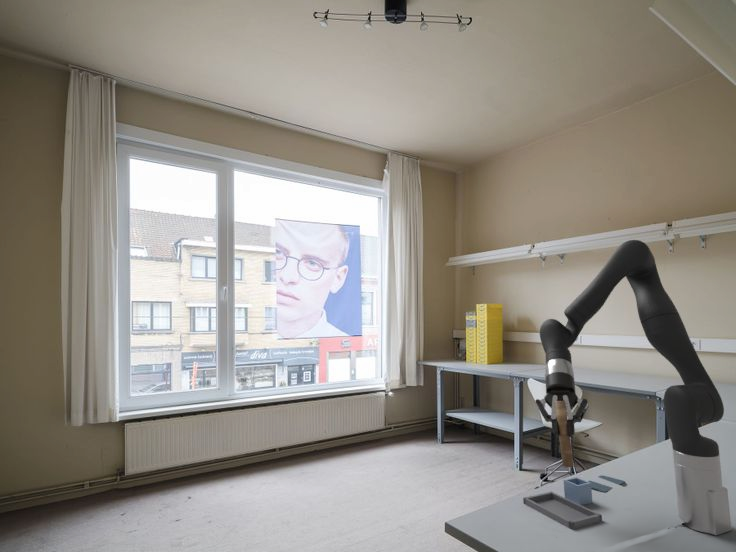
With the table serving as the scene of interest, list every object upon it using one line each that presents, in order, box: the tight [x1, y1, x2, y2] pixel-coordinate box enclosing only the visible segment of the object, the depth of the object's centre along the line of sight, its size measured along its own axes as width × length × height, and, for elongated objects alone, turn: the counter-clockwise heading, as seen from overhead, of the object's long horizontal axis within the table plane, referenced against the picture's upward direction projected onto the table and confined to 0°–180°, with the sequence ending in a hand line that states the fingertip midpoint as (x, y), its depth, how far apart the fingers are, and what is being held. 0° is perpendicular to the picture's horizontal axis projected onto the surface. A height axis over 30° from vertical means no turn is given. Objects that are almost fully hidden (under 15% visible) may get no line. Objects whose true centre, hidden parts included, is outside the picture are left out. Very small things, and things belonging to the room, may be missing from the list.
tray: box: [522, 491, 603, 530], centre depth 111 cm, size 16×10×2 cm, turn 22°
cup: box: [563, 477, 593, 506], centre depth 117 cm, size 5×5×6 cm
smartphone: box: [587, 475, 627, 494], centre depth 129 cm, size 8×2×15 cm
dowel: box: [555, 401, 575, 468], centre depth 112 cm, size 3×3×16 cm
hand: (563, 435), depth 111 cm, fingers closed on dowel, 2 cm apart
